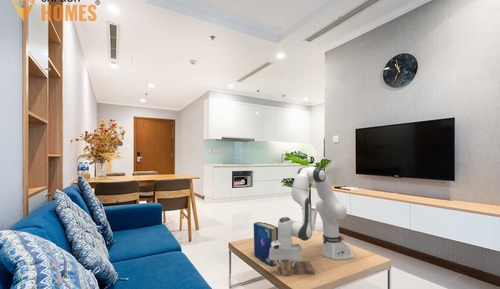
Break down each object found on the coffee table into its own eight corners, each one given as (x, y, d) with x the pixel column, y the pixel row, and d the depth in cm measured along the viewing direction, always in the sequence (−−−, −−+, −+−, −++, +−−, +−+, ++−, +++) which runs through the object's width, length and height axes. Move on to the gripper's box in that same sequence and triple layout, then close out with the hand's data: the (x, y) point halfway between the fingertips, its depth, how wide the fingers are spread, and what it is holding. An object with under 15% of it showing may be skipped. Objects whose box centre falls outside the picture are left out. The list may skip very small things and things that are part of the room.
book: (252, 255, 172) (252, 221, 173) (260, 253, 176) (259, 220, 177) (271, 267, 154) (271, 229, 156) (279, 264, 159) (278, 227, 160)
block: (288, 269, 150) (288, 258, 151) (290, 275, 143) (290, 263, 143) (280, 269, 150) (280, 258, 150) (282, 275, 143) (282, 263, 143)
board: (309, 265, 157) (309, 261, 157) (314, 274, 145) (314, 270, 145) (276, 265, 156) (276, 261, 157) (279, 274, 144) (279, 270, 145)
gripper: (300, 242, 151) (300, 263, 150) (268, 242, 150) (268, 264, 150) (302, 245, 145) (302, 268, 144) (269, 246, 144) (269, 269, 144)
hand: (285, 266), depth 147 cm, fingers open, 8 cm apart
